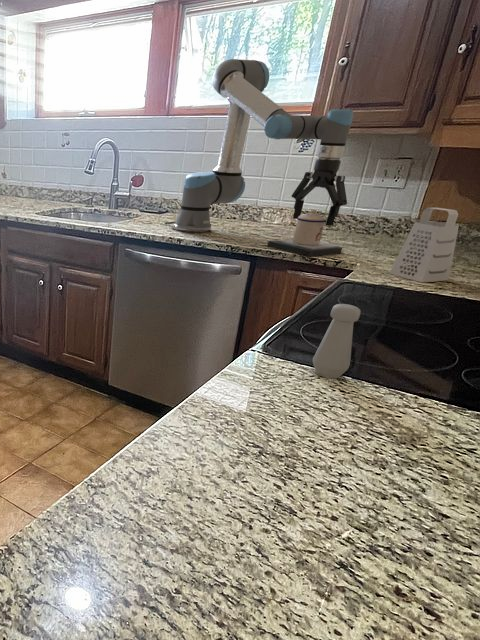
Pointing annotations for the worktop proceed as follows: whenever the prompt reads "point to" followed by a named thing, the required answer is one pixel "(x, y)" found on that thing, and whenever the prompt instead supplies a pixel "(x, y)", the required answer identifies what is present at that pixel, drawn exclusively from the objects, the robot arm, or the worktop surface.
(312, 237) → the teacup with lid
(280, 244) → the scale
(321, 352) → the salt shaker
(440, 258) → the grater
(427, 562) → the worktop surface
